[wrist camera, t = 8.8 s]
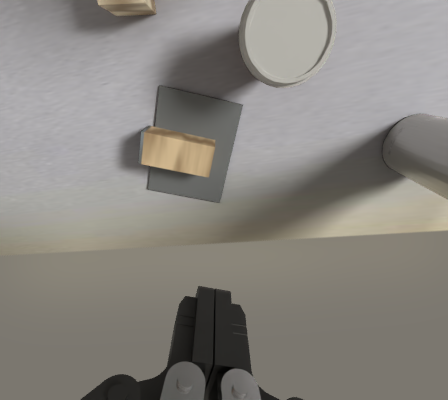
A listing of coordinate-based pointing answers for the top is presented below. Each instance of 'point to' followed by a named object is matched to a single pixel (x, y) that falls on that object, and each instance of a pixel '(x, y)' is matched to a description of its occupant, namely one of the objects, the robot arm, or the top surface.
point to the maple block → (128, 7)
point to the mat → (203, 127)
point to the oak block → (176, 151)
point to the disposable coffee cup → (286, 39)
